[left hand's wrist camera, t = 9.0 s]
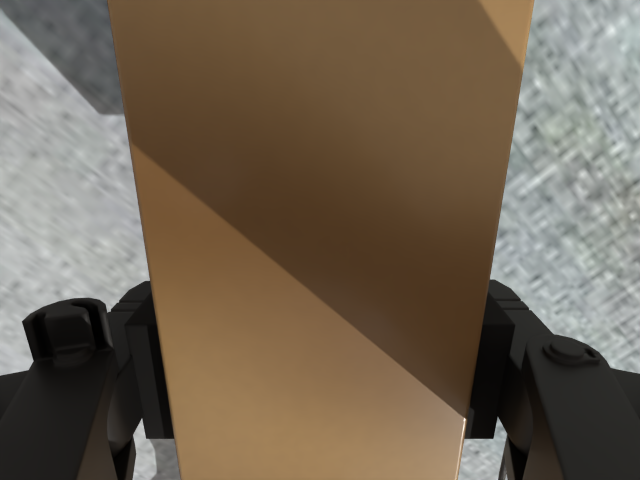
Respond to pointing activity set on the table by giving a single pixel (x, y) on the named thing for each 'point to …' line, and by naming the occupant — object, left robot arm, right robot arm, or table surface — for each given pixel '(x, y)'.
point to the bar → (319, 222)
